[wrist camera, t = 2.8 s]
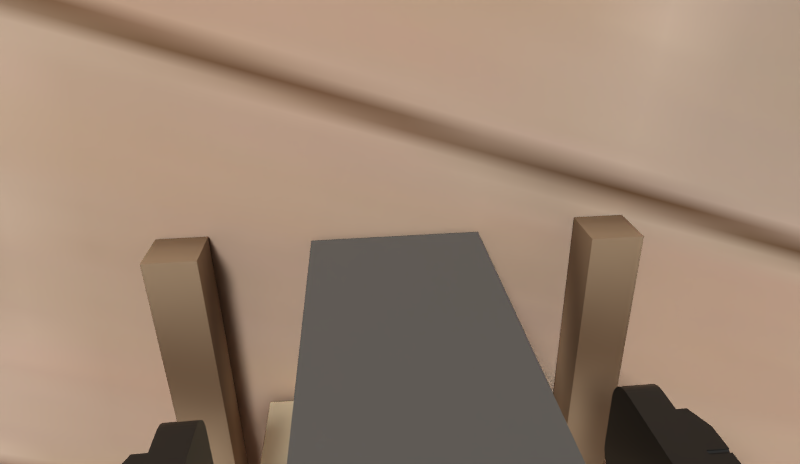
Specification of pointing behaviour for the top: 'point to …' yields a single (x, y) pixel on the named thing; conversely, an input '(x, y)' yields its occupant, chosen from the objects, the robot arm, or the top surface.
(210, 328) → the lane
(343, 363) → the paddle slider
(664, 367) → the top surface
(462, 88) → the top surface
